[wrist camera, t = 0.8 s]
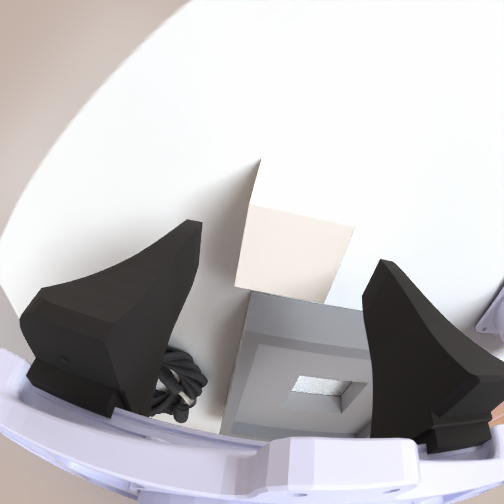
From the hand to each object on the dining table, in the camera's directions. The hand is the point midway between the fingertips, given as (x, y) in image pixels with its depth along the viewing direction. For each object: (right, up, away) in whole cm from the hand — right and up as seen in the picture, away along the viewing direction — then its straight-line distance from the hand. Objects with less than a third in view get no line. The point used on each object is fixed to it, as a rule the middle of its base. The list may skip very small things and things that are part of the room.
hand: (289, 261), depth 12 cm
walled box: (+5, -11, +14) cm, 18 cm away
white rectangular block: (+1, +3, +5) cm, 6 cm away
